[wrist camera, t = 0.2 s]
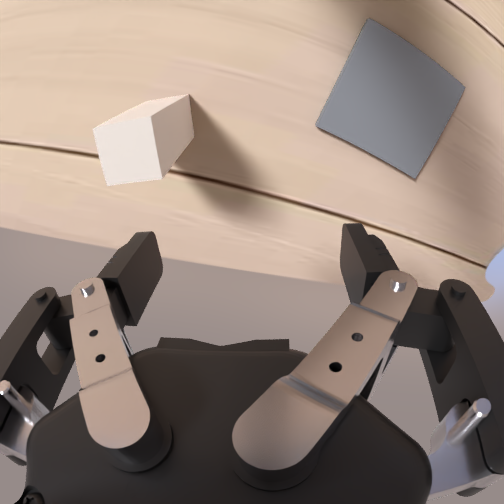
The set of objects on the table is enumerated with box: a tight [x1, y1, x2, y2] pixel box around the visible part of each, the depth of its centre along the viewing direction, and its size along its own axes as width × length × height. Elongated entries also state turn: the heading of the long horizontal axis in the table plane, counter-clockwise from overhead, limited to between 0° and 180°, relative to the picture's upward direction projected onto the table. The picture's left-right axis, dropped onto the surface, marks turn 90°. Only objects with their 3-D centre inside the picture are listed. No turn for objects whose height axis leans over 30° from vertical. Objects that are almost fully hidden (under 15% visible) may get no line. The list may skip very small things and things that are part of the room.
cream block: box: [93, 94, 195, 186], centre depth 25 cm, size 5×5×12 cm
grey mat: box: [315, 18, 465, 179], centre depth 27 cm, size 14×14×1 cm
